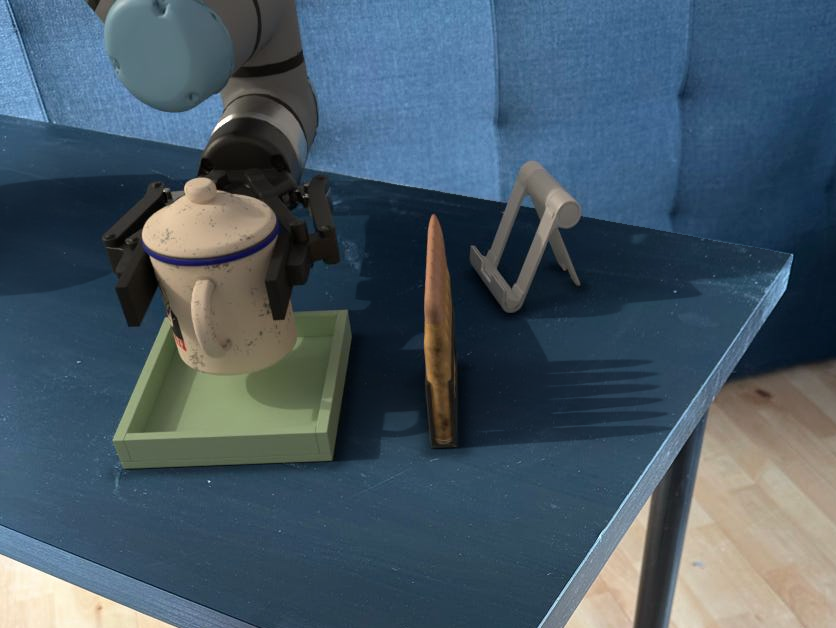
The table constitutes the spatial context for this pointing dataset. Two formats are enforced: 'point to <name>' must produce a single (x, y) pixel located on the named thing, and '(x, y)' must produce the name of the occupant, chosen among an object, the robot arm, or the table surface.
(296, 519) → the table surface
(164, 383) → the tray
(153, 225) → the teacup with lid
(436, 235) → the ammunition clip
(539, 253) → the tablet stand
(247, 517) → the table surface
